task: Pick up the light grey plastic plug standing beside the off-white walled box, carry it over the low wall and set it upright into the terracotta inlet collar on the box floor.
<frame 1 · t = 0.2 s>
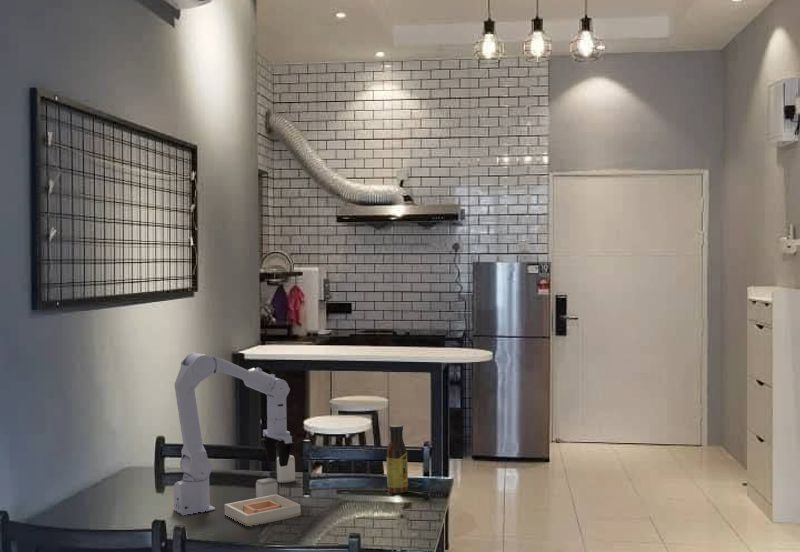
hand: (277, 463, 250), 9 cm above the table, fingers open, 7 cm apart
grey plug: (266, 500, 245), on the table
walled box: (262, 515, 230), on the table
sauce bottle: (397, 492, 252), on the table
eye dropper bottle: (286, 482, 267), on the table
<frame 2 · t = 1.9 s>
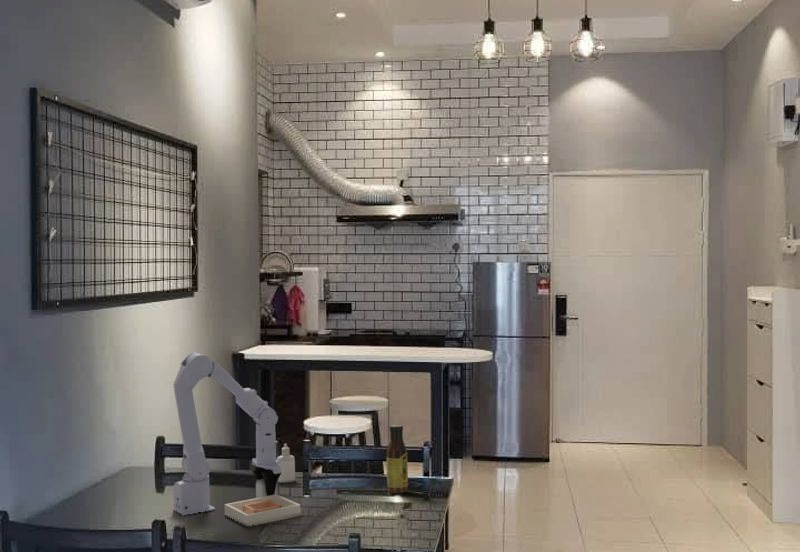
hand: (266, 493, 245), 2 cm above the table, fingers closed on grey plug, 4 cm apart
grey plug: (266, 500, 245), on the table, touching gripper
everything else where it was.
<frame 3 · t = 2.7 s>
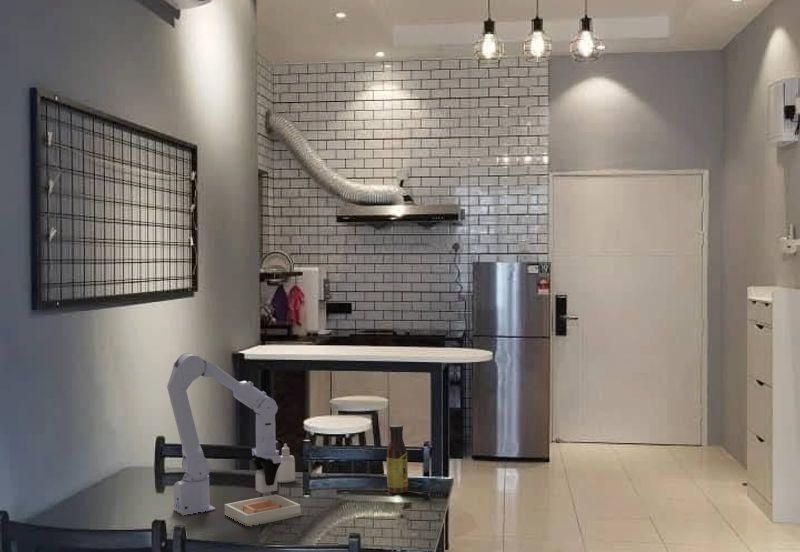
hand: (266, 483, 245), 5 cm above the table, fingers closed on grey plug, 4 cm apart
grey plug: (266, 490, 245), point 3 cm above the table, touching gripper
everything else where it was.
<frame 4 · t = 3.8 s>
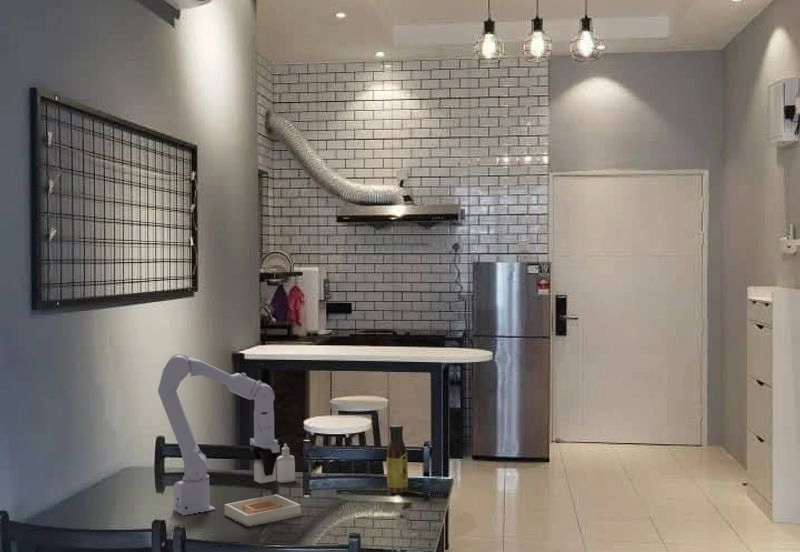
hand: (265, 473, 240), 9 cm above the table, fingers closed on grey plug, 4 cm apart
grey plug: (265, 480, 240), point 7 cm above the table, touching gripper
everything else where it was.
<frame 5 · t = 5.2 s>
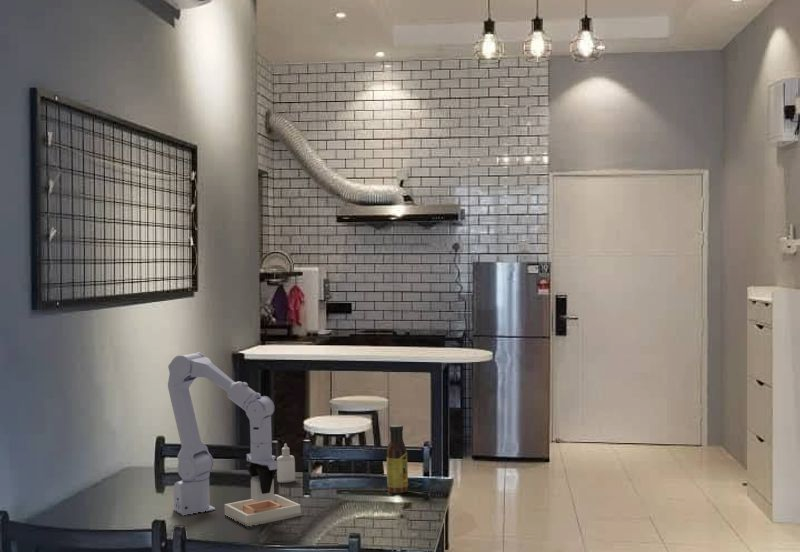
hand: (262, 491, 230), 7 cm above the table, fingers closed on grey plug, 4 cm apart
grey plug: (262, 498, 230), point 5 cm above the table, touching gripper
everything else where it was.
when the fingers open (4 cm above the table, at t = 6.2 s): grey plug drops 1 cm, resting on walled box.
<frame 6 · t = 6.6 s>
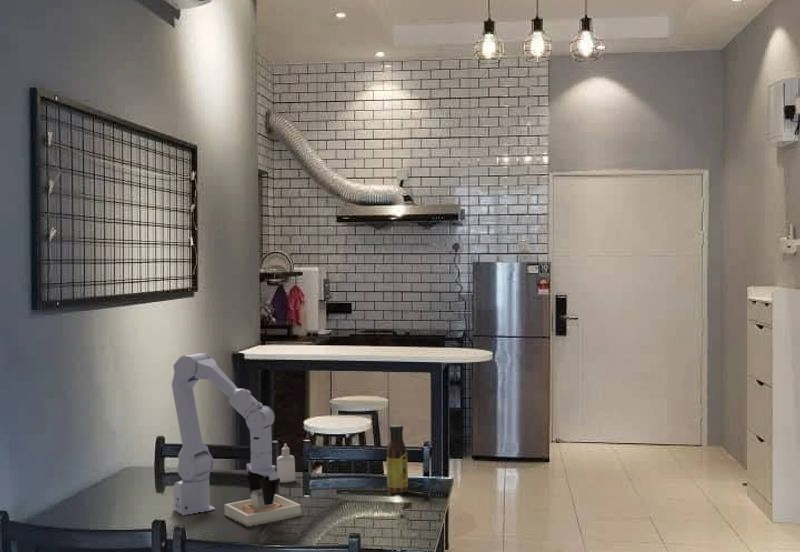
hand: (262, 501, 230), 4 cm above the table, fingers open, 7 cm apart
grey plug: (262, 512, 230), point 1 cm above the table, touching walled box
everything else where it was.
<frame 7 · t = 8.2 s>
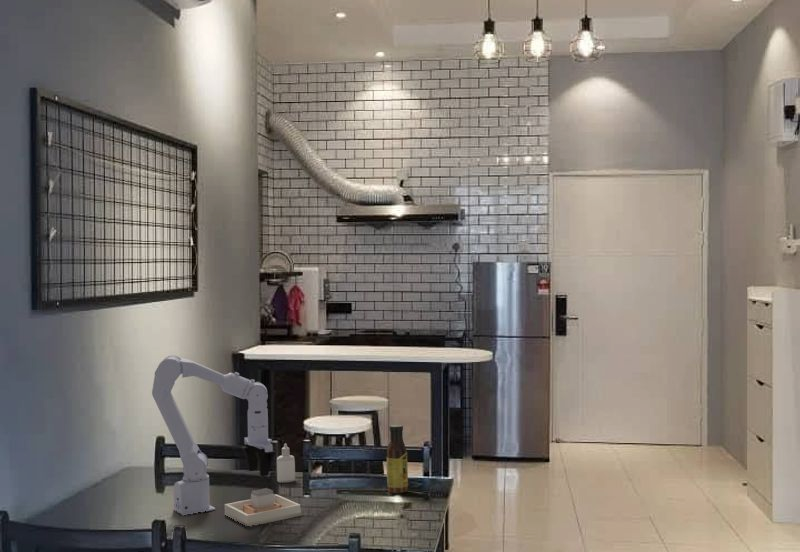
hand: (258, 473, 239), 9 cm above the table, fingers open, 7 cm apart
nothing on the table moved.
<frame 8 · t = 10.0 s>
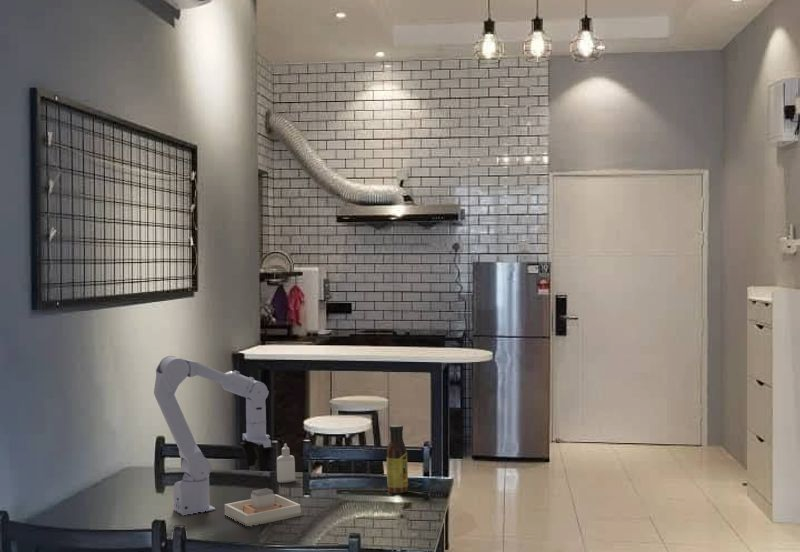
hand: (257, 468, 245), 9 cm above the table, fingers open, 7 cm apart
nothing on the table moved.
at the end: grey plug 0.1 cm off-centre on the walled box, point 0.8 cm above the walled box's base; grey plug tilted 0°; the gripper is holding nothing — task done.
